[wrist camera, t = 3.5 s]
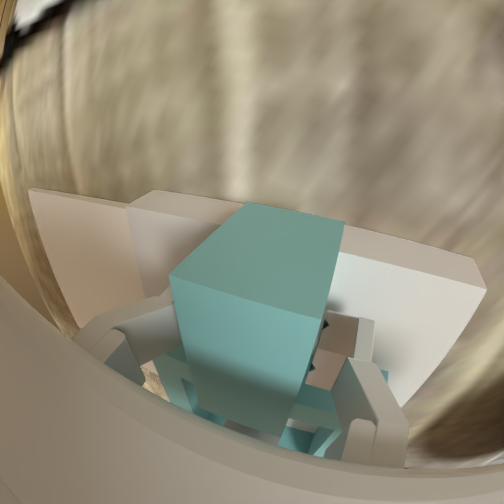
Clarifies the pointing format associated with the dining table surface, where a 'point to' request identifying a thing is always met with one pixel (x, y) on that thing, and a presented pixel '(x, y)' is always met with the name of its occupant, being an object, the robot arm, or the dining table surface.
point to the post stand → (335, 286)
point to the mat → (88, 252)
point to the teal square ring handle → (256, 325)
